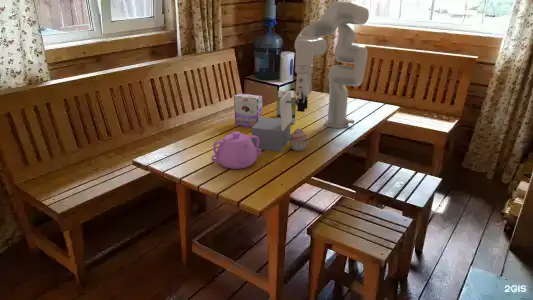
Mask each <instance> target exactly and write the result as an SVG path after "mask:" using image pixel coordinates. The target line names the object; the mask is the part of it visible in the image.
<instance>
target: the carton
mask: <svg viewBox="0 0 533 300" xmlns="http://www.w3.org/2000/svg"><path fill="white" fill-rule="evenodd" d="M290 123H291V122H290ZM290 123H289V125H288V126H287V127H286V128H285V129H284V131H282V129H281V119H277V117H274V118H273V117H264V116H262V118H261V119H260V120H259V121H258V122H257V123H256V124H255V125H254V126H253V127H252V128H251V136H252V135H255V136H257V137H258V138H259V146H258V148H260V149H261V151H263V150H264V151H271V152H278V153H279V152H280V153H281V152H283V150H284V148H285V147H286V146H287V145H288V144H289V143H290V142H289V138H290V137H291V124H290ZM251 141H252V142H253V144H254V146H256V141H257V140H256V138H252V139H251Z"/></svg>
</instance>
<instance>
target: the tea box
mask: <svg viewBox="0 0 533 300" xmlns="http://www.w3.org/2000/svg"><path fill="white" fill-rule="evenodd" d="M289 91H291V101H296V99H297V95H296V90H277V95H276V119H281V113H280V99H281V98H282V97H283V96H284V95H285V94H286V93H288V92H289ZM296 107H297V105H296V103H291V108H292V121H291V123H290V125H291V124H292V125H293V124H295V123H296V109H297V108H296Z"/></svg>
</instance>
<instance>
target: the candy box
mask: <svg viewBox="0 0 533 300" xmlns="http://www.w3.org/2000/svg"><path fill="white" fill-rule="evenodd" d="M233 102H234V103H233V104H234V125H235V126H237V127H244V128H250V129H252V127H253V126H254V125H255V124H256V123H257V122H258V121H259V120H260V119H261V118H262V117H263V95H257V94H248V93H239V92H238V93H237V94H235V95H234V96H233Z"/></svg>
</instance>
